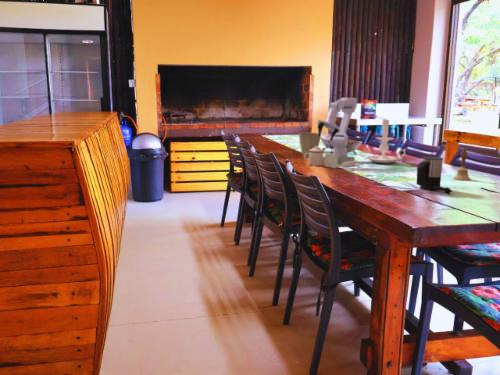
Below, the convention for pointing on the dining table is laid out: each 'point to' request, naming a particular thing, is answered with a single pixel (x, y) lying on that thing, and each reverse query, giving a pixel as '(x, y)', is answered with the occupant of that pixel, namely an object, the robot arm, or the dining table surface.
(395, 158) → the candlestick
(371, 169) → the dining table surface
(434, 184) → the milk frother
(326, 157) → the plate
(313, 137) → the plant pot
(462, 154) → the hand bell
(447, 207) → the dining table surface
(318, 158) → the teacup with lid
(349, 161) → the dish rack
